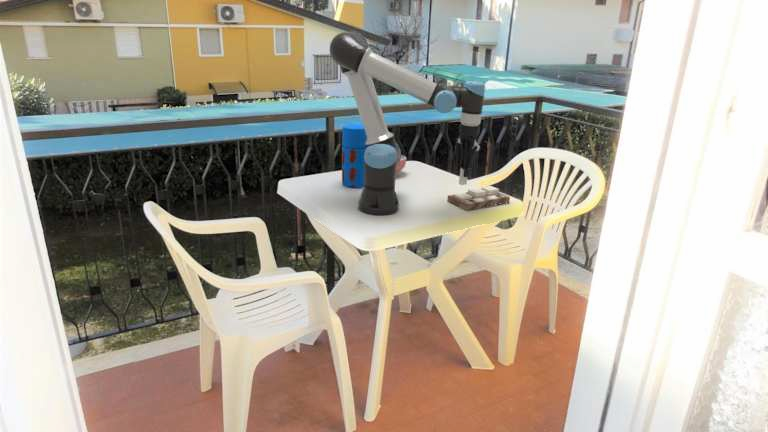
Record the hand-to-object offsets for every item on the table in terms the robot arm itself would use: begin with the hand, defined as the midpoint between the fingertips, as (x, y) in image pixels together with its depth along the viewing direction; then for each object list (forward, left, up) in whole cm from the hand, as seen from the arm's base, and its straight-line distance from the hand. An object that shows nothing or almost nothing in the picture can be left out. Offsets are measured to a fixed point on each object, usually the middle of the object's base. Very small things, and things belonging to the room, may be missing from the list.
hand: (462, 184), depth 206 cm
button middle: (+8, 0, -6) cm, 10 cm away
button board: (+8, -2, -8) cm, 11 cm away
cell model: (-6, +47, -8) cm, 48 cm away
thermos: (-26, +39, -8) cm, 48 cm away
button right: (+15, 0, -6) cm, 16 cm away
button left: (+1, 0, -7) cm, 7 cm away
